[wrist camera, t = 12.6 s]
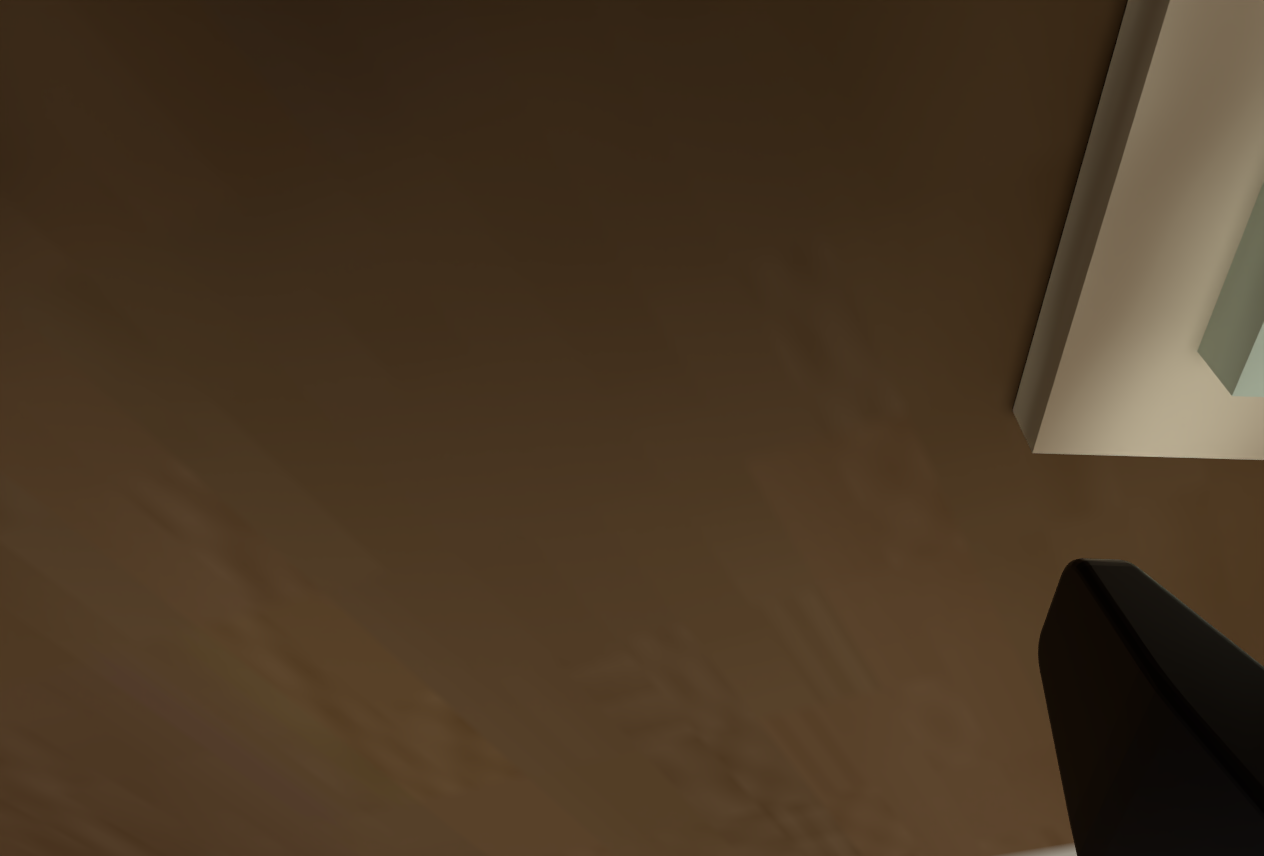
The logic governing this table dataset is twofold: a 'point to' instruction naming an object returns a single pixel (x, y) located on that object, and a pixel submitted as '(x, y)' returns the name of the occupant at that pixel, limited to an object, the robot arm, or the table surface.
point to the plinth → (1162, 251)
